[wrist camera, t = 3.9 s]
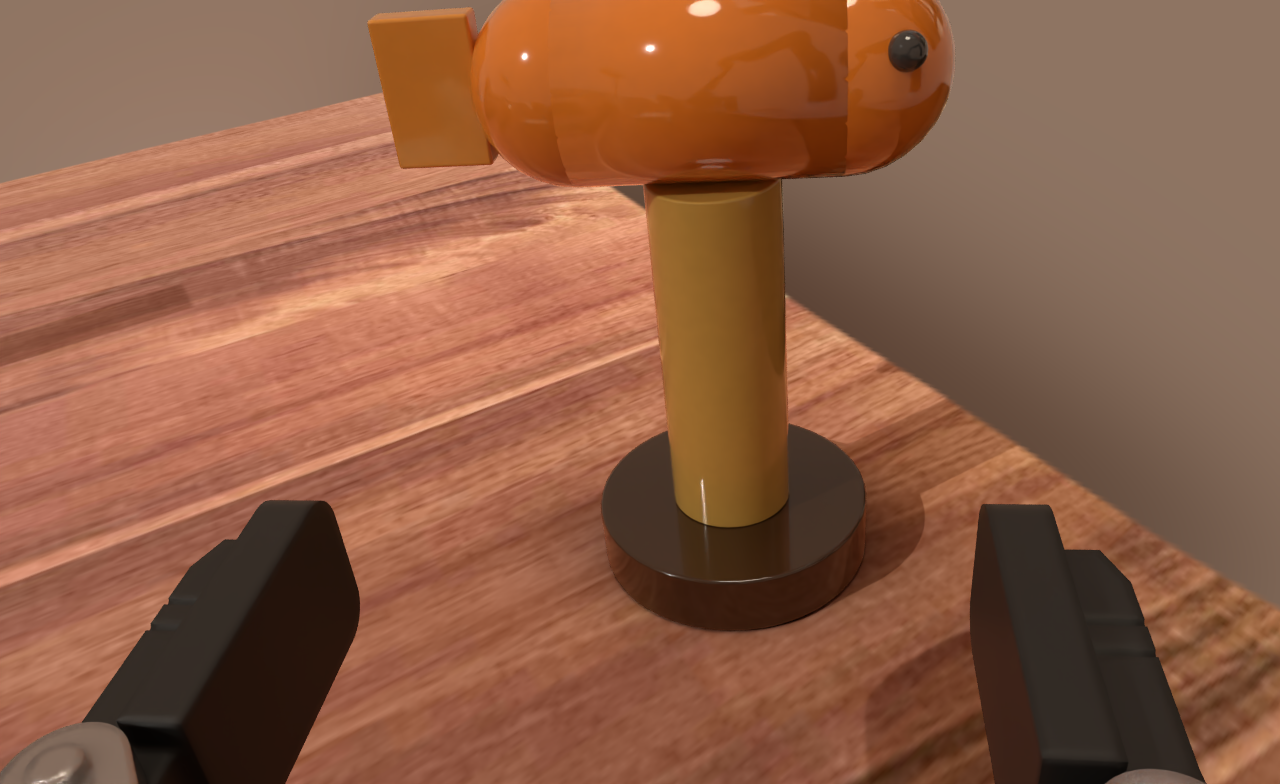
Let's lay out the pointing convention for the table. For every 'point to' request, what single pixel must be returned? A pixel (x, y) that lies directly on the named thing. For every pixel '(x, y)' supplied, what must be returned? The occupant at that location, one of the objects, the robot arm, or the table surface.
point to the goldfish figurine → (694, 240)
